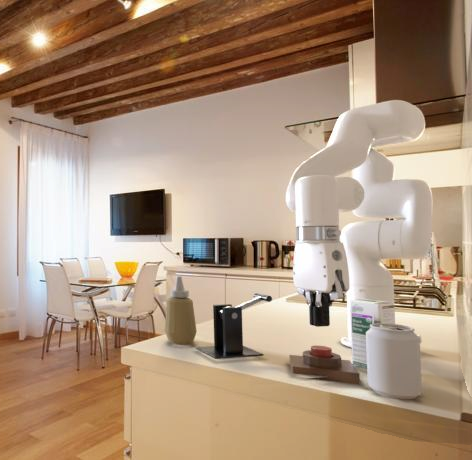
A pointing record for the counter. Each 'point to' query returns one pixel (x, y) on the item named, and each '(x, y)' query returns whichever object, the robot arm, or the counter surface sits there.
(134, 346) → the counter surface
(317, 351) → the button
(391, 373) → the can
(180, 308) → the squeeze bottle
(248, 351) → the bracket
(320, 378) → the button block
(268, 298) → the lever
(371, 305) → the syrup box
